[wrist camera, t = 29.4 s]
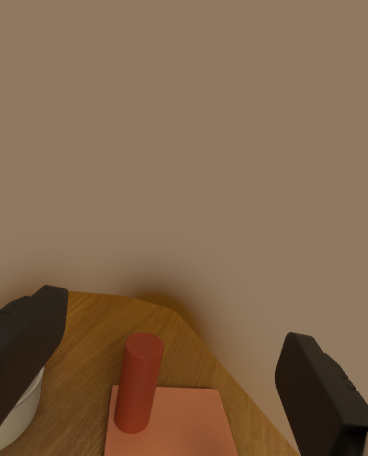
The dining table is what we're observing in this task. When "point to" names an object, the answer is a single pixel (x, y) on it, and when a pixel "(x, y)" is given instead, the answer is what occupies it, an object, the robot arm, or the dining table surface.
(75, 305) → the dining table surface
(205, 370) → the dining table surface
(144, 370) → the rust pin
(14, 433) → the teacup
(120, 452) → the board
